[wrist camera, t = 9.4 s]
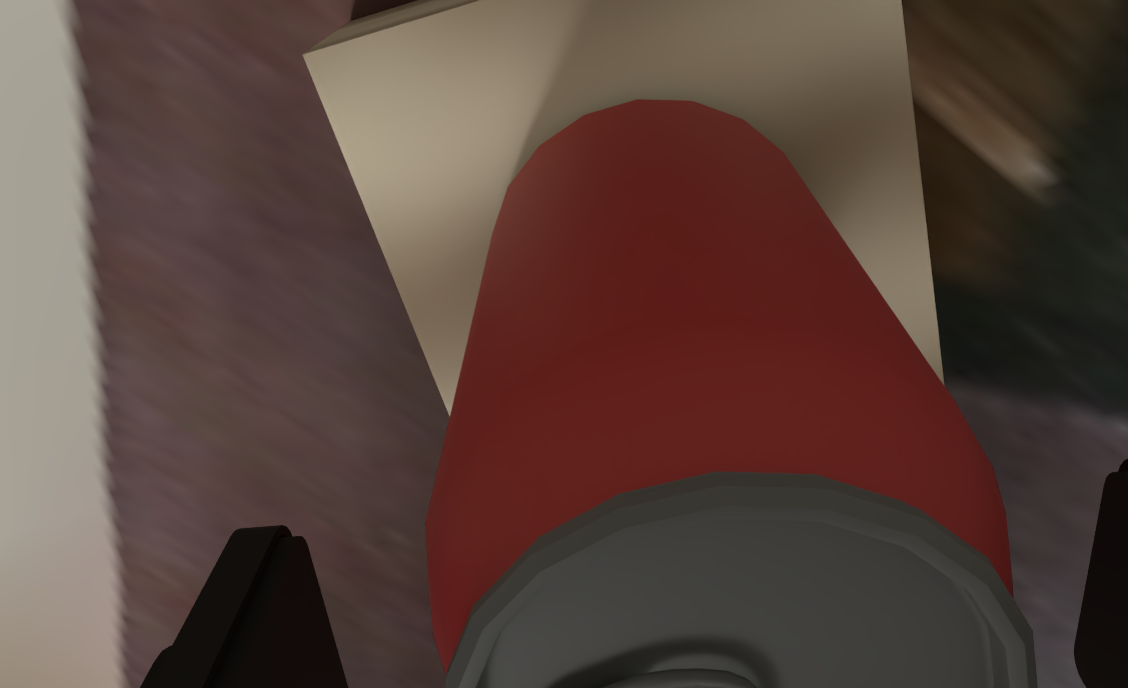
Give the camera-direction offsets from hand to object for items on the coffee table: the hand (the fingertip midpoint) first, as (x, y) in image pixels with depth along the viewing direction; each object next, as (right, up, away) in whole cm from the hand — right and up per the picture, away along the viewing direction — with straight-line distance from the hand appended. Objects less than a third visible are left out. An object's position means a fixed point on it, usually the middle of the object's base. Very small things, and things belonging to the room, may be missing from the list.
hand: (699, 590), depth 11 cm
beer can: (0, +5, +8) cm, 10 cm away
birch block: (0, +7, +12) cm, 14 cm away
